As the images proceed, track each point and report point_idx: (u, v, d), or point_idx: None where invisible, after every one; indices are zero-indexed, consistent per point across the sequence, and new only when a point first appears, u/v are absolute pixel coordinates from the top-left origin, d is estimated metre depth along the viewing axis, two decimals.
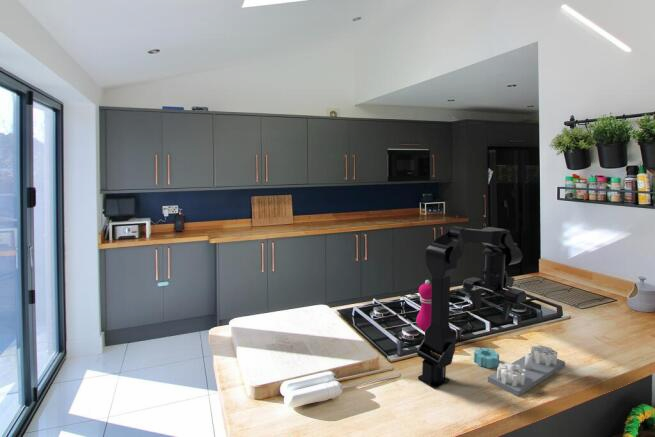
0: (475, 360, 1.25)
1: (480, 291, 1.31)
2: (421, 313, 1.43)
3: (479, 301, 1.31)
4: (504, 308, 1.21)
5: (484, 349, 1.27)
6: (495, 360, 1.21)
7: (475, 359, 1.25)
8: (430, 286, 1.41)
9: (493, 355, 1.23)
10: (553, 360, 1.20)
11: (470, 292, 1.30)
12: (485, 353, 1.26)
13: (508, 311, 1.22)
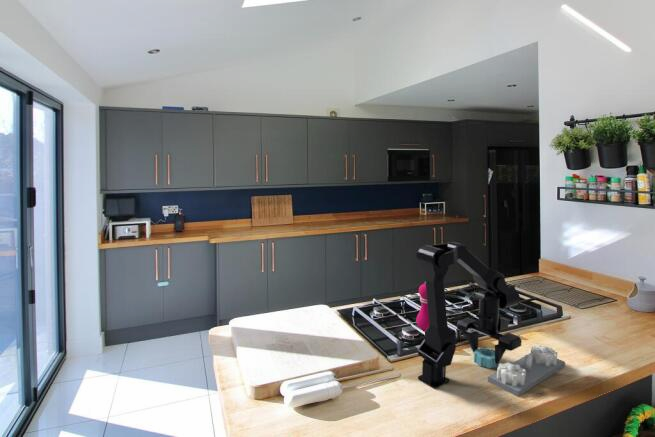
0: (475, 360, 1.25)
1: (477, 333, 1.28)
2: (421, 313, 1.43)
3: (476, 344, 1.27)
4: (496, 352, 1.19)
5: (484, 349, 1.27)
6: None
7: (475, 359, 1.25)
8: None
9: (493, 355, 1.23)
10: (553, 360, 1.20)
11: (466, 335, 1.26)
12: (485, 353, 1.26)
13: (500, 355, 1.20)
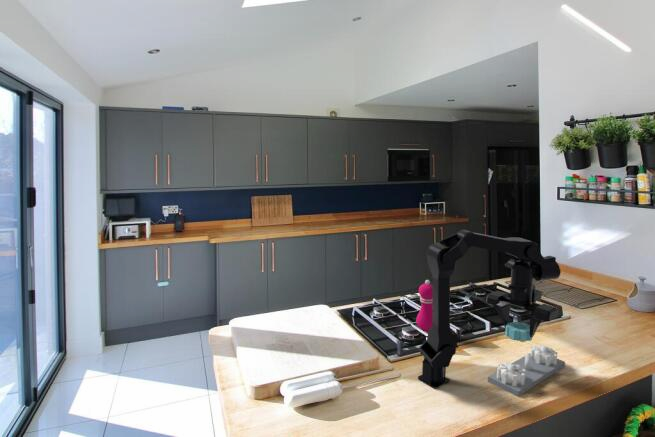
0: (507, 334, 1.18)
1: (508, 307, 1.21)
2: (421, 313, 1.43)
3: (507, 318, 1.21)
4: (531, 325, 1.13)
5: (516, 323, 1.20)
6: (529, 333, 1.15)
7: (507, 333, 1.18)
8: (430, 286, 1.41)
9: (527, 328, 1.17)
10: (553, 360, 1.20)
11: (497, 309, 1.20)
12: (517, 327, 1.20)
13: (535, 328, 1.14)
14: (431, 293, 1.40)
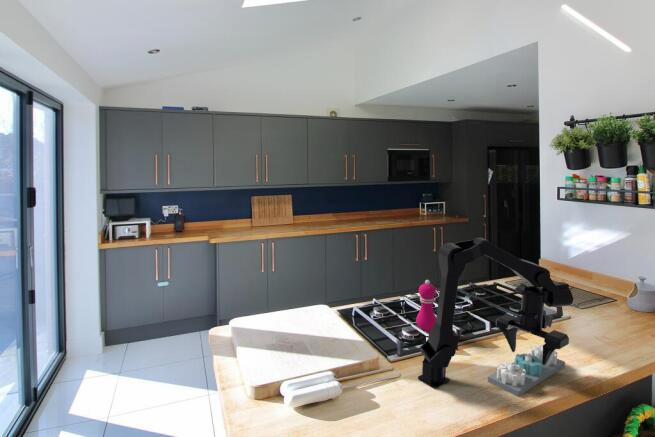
0: None
1: (515, 330, 1.21)
2: (421, 313, 1.43)
3: (514, 341, 1.21)
4: (544, 352, 1.11)
5: None
6: (539, 367, 1.15)
7: None
8: (430, 286, 1.41)
9: (536, 361, 1.16)
10: (553, 360, 1.20)
11: (504, 332, 1.20)
12: None
13: (548, 355, 1.12)
14: (431, 293, 1.40)
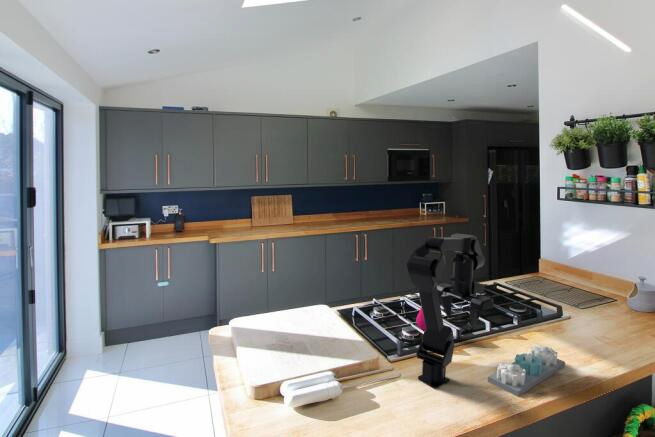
0: None
1: (450, 297, 1.30)
2: (421, 313, 1.43)
3: (449, 307, 1.29)
4: (471, 315, 1.20)
5: None
6: (539, 367, 1.15)
7: None
8: None
9: (536, 361, 1.16)
10: (553, 360, 1.20)
11: (440, 298, 1.29)
12: None
13: (475, 318, 1.21)
14: None
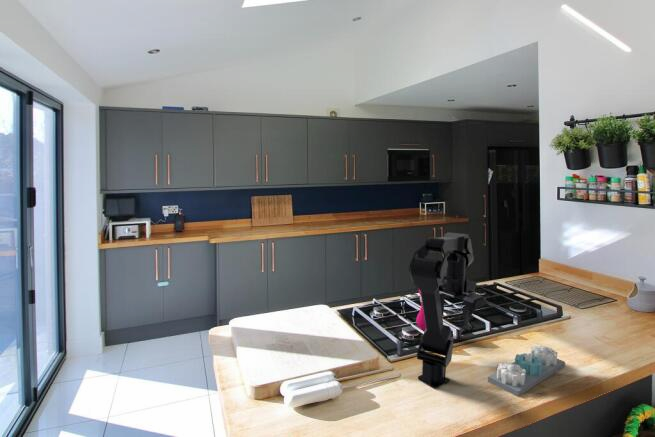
0: None
1: (443, 296, 1.31)
2: (421, 313, 1.43)
3: (442, 306, 1.31)
4: (464, 313, 1.21)
5: None
6: (539, 367, 1.15)
7: None
8: None
9: (536, 361, 1.16)
10: (553, 360, 1.20)
11: None
12: None
13: (468, 316, 1.22)
14: None
